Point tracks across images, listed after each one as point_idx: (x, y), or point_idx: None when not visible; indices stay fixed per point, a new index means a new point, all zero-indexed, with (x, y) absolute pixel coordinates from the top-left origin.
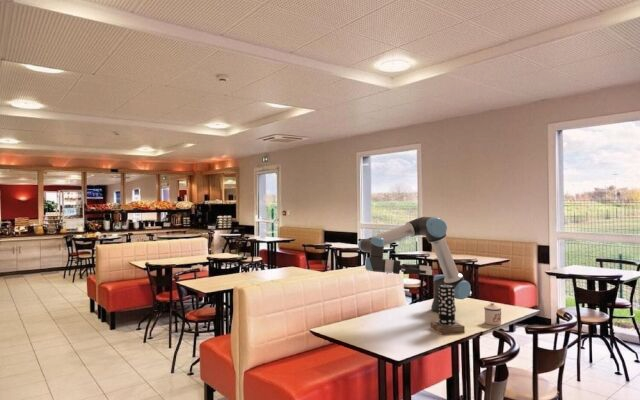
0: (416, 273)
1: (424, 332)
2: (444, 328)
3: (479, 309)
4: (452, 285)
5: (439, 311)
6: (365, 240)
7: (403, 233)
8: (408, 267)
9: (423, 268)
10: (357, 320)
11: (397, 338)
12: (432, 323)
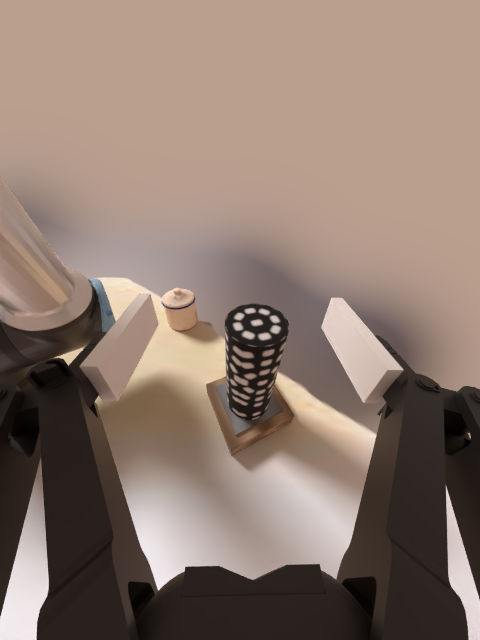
0: (466, 433)
1: (285, 480)
2: (290, 409)
3: None
4: (239, 306)
5: (260, 402)
6: None
7: None
8: (445, 618)
9: (130, 353)
10: None
11: None
12: (243, 443)
